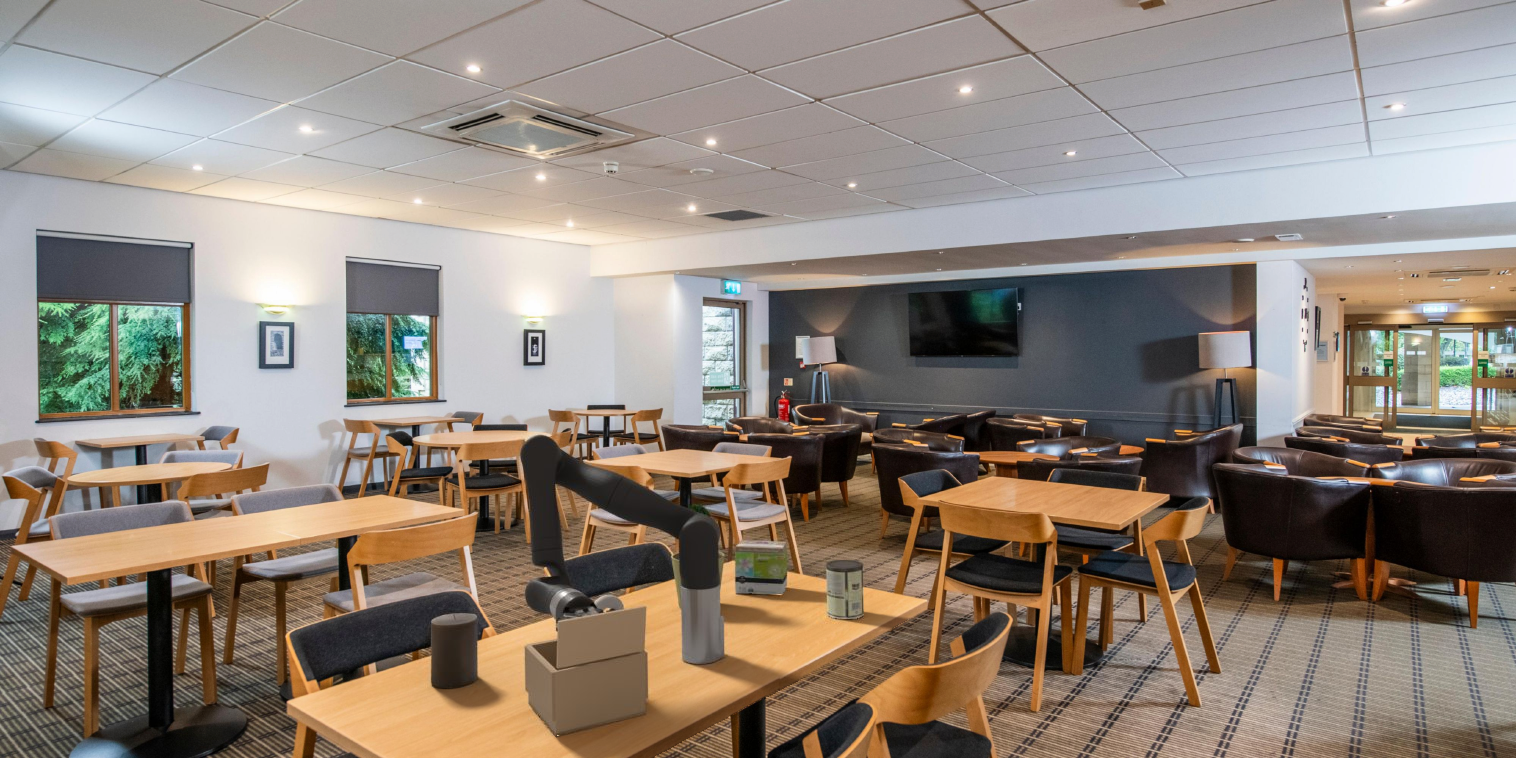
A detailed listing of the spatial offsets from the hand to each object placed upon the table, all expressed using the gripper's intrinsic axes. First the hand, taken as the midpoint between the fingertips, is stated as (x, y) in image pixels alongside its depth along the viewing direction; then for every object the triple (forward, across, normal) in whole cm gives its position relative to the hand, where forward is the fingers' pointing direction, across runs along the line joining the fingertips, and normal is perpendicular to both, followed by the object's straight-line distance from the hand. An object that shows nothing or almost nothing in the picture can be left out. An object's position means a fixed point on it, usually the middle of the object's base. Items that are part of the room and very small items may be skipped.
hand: (601, 631), depth 153 cm
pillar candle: (-41, -19, +18) cm, 49 cm away
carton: (-10, 0, +18) cm, 21 cm away
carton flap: (0, 0, +1) cm, 1 cm away
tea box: (-66, +75, +18) cm, 102 cm away
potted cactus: (-61, +51, +18) cm, 82 cm away
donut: (-53, +20, +18) cm, 60 cm away
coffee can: (-32, +82, +18) cm, 90 cm away
